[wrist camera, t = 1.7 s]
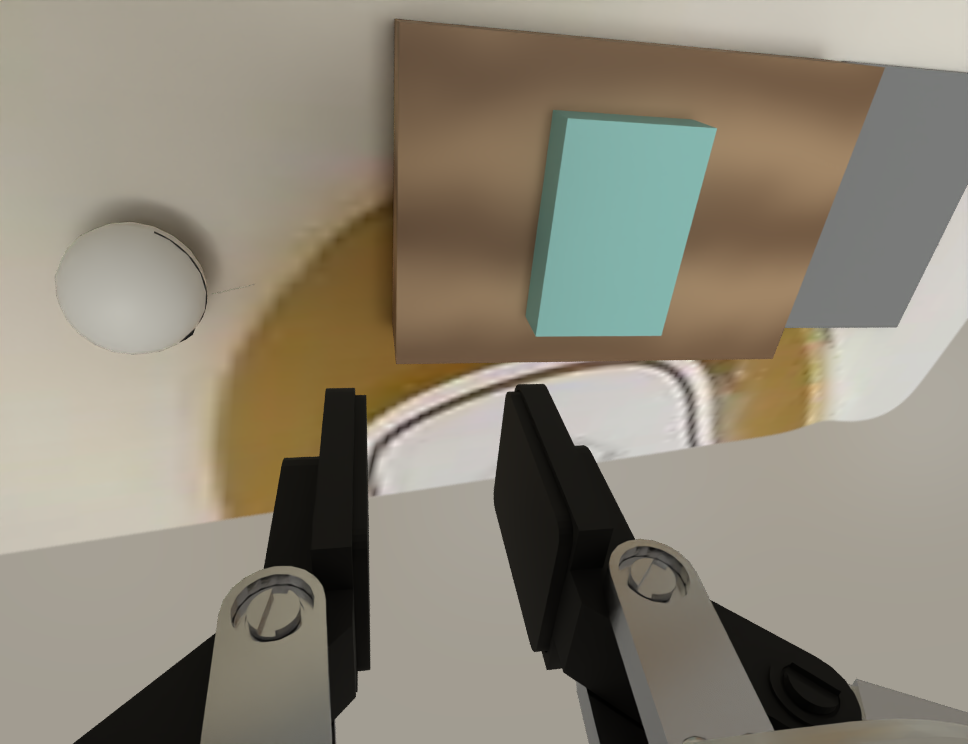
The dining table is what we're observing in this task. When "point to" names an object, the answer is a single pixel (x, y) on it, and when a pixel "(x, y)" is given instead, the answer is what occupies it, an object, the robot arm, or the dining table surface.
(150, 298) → the white sphere
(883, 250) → the mat
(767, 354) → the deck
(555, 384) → the dining table surface
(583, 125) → the teal rectangular block
